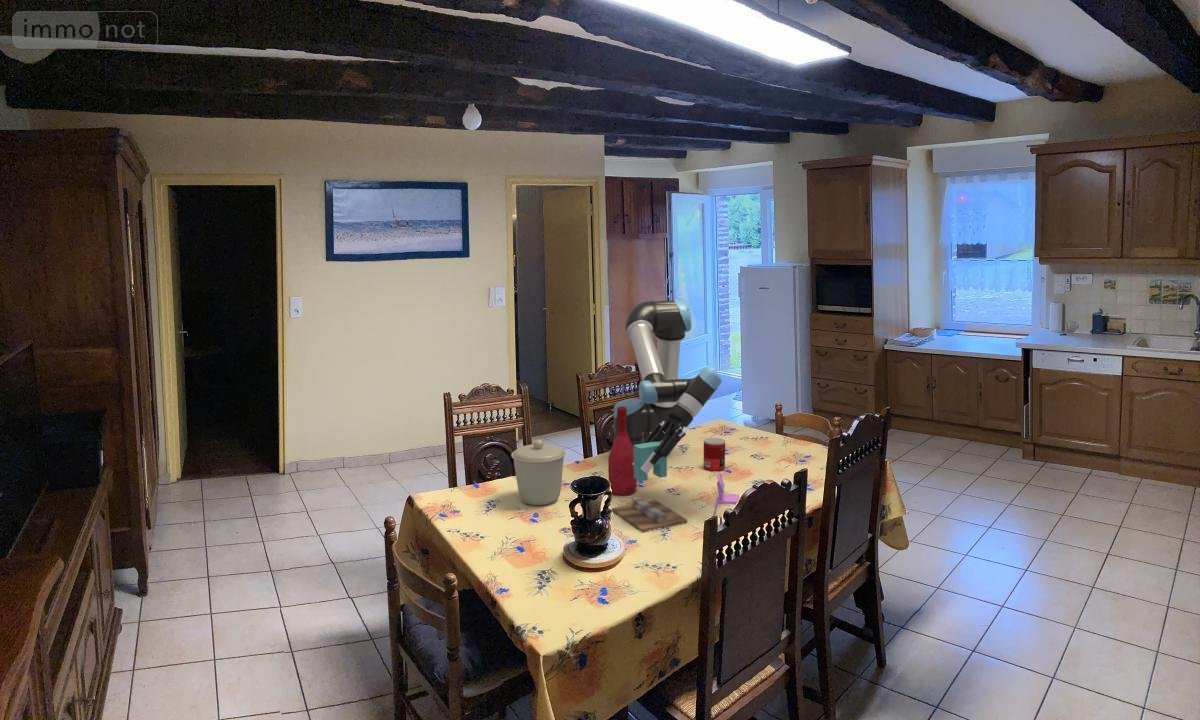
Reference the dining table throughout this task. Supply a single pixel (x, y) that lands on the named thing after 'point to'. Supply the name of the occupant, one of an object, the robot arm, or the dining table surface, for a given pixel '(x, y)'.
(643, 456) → the clip
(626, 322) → the robot arm
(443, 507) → the dining table surface
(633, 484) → the wine bottle
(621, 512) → the rail board
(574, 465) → the dining table surface
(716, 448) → the canned food
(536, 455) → the canister
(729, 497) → the toy chair
